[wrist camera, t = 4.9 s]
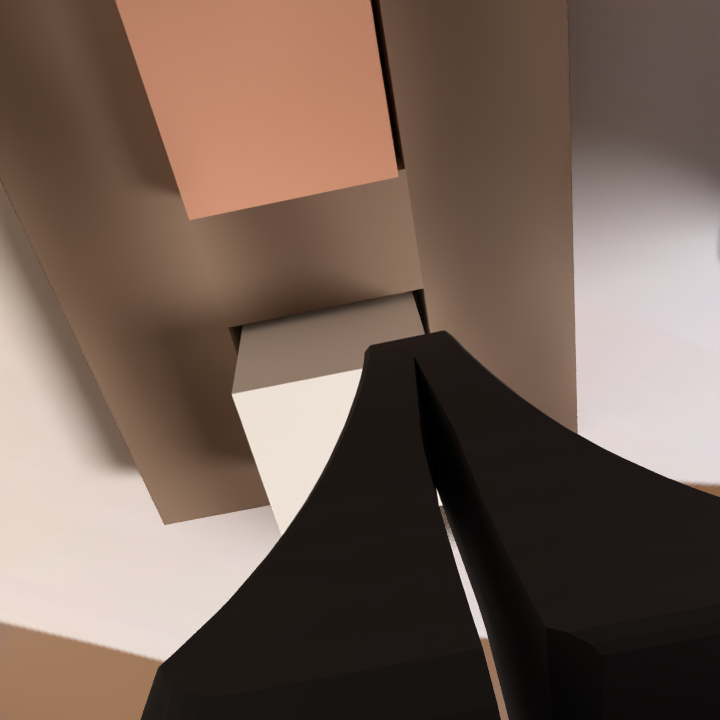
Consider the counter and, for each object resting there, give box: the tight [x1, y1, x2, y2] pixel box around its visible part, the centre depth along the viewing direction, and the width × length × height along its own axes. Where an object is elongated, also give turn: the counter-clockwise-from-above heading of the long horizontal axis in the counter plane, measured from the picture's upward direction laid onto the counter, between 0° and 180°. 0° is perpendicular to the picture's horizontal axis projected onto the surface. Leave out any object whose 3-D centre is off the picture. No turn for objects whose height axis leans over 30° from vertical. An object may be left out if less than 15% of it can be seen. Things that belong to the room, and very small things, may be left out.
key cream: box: [232, 291, 442, 535], centre depth 20 cm, size 5×5×4 cm
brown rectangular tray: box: [0, 0, 577, 525], centre depth 17 cm, size 14×26×2 cm, turn 11°
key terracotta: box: [115, 0, 398, 220], centre depth 16 cm, size 5×5×4 cm
